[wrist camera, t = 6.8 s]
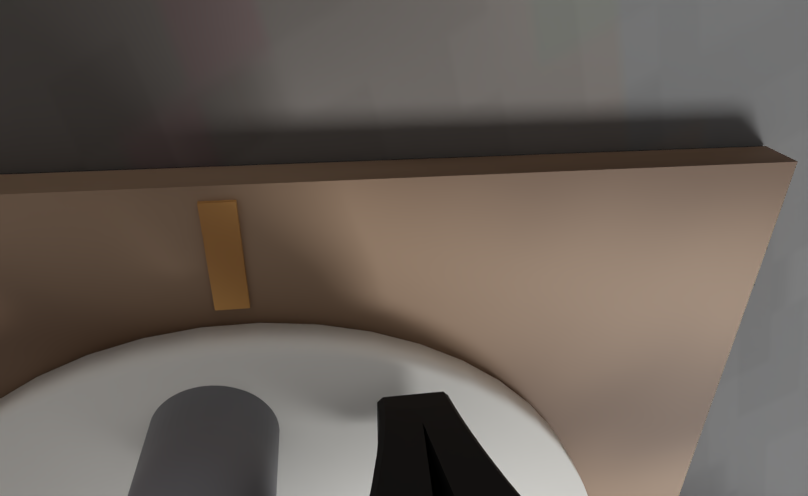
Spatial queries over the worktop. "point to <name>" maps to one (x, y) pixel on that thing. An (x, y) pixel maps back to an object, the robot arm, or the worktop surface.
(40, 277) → the dial board
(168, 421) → the dial
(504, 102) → the worktop surface
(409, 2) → the worktop surface
